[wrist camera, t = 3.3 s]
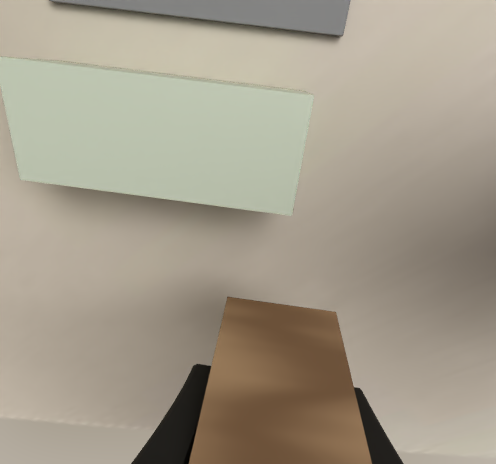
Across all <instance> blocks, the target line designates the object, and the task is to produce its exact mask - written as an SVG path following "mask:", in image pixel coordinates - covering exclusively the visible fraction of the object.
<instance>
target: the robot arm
mask: <svg viewBox="0 0 496 464" xmlns="http://www.w3.org/2000/svg"><path fill="white" fill-rule="evenodd" d="M210 370H211V366H207V365H201V364H196V365H194V366H193V368H192V370H191V372H190V374H189V376H188V378H187V380H186V382H185V384H184V386H183V388H182V389H181V391H180V393H179V394H178V396H177V398H176V400H175V401H174V403H173V404H172V406H171V408H170V409H169V411H168V412H167V414H166V415H165V417H164V418H163V420H162V421H161V423H160V424H159V426H158V427H157V429H156V430H155V432H154V433H153V435H152V436H151V438H150V439H149V440H148V442H147V443H146V444H145V446H144V447H143V448H142V450H141V451H140V453H139V454H138V455H137V457H136V458H135V459H134V461H133V462H132V463H131V464H189V461H190V456H191V452H192V448H193V443H194V439H195V435H196V431H197V426H198V422H199V418H200V413H201V409H202V405H203V400H204V396H205V392H206V387H207V383H208V379H209V374H210ZM354 390H355V395H356V399H357V403H358V407H359V411H360V416H361V420H362V424H363V428H364V432H365V436H366V441H367V445H368V449H369V453H370V457H371V462H372V464H403V462H402V460H401V459H400V457H399V456H398V454H397V452H396V451H395V449H394V447H393V446H392V444H391V442H390V440H389V439H388V437H387V435H386V433H385V432H384V430H383V428H382V426H381V425H380V423H379V421H378V419H377V418H376V416H375V414H374V412H373V410H372V408H371V407H370V405H369V403H368V401H367V399H366V397H365V396H364V394H363V392H362V390H361V389H360V388H355V387H354Z"/></svg>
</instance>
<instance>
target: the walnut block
mask: <svg viewBox="0 0 496 464" xmlns="http://www.w3.org/2000/svg"><path fill="white" fill-rule="evenodd" d="M189 464H372V462H371V457H370V453H369V449H368V445H367V441H366V436H365V432H364V428H363V424H362V420H361V416H360V411H359V407H358V403H357V399H356V395H355V390H354V386H353V382H352V378H351V374H350V369H349V365H348V361H347V357H346V353H345V349H344V344H343V340H342V336H341V332H340V328H339V323H338V319H337V315H336V312H332V311H325V310H318V309H310V308H303V307H296V306H289V305H282V304H275V303H268V302H261V301H254V300H246V299H239V298H232V297H227V301H226V305H225V310H224V314H223V318H222V323H221V327H220V331H219V336H218V340H217V344H216V349H215V353H214V357H213V362H212V366H211V370H210V374H209V379H208V383H207V387H206V392H205V396H204V400H203V405H202V409H201V413H200V418H199V422H198V426H197V431H196V435H195V439H194V443H193V448H192V452H191V456H190V461H189Z"/></svg>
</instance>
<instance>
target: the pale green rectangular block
mask: <svg viewBox="0 0 496 464" xmlns="http://www.w3.org/2000/svg"><path fill="white" fill-rule="evenodd" d="M0 87H1V92H2V96H3V101H4V106H5V110H6V115H7V120H8V125H9V129H10V134H11V139H12V144H13V148H14V153H15V158H16V162H17V167H18V172H19V177H20V180H25V181H33V182H40V183H48V184H55V185H63V186H70V187H78V188H85V189H93V190H100V191H108V192H115V193H123V194H131V195H138V196H146V197H153V198H161V199H168V200H176V201H183V202H191V203H198V204H206V205H213V206H221V207H228V208H236V209H243V210H251V211H258V212H266V213H274V214H281V215H289V216H292V213H293V207H294V202H295V197H296V191H297V186H298V180H299V175H300V170H301V164H302V159H303V154H304V148H305V143H306V137H307V132H308V127H309V121H310V116H311V111H312V105H313V100H314V95H312V94H310V93H308V92H306V91H300V90H292V89H283V88H275V87H267V86H259V85H251V84H243V83H235V82H227V81H219V80H211V79H203V78H195V77H187V76H178V75H170V74H162V73H154V72H146V71H138V70H130V69H122V68H114V67H106V66H98V65H90V64H82V63H73V62H65V61H54V60H41V59H28V58H15V57H2V56H0Z"/></svg>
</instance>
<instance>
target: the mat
mask: <svg viewBox="0 0 496 464" xmlns="http://www.w3.org/2000/svg"><path fill="white" fill-rule="evenodd" d="M50 1H53V2H58V3H67V4H75V5H83V6H92V7H100V8H108V9H117V10H125V11H134V12H142V13H150V14H159V15H167V16H175V17H184V18H192V19H200V20H209V21H217V22H226V23H234V24H242V25H251V26H259V27H267V28H276V29H284V30H292V31H301V32H309V33H318V34H326V35H334V36H343V34H344V29H345V24H346V19H347V15H348V10H349V5H350V0H50Z"/></svg>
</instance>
